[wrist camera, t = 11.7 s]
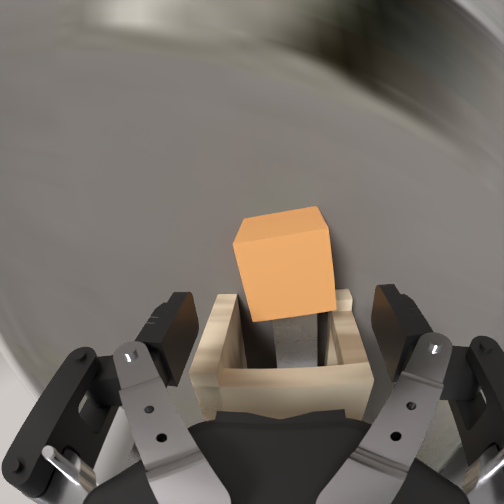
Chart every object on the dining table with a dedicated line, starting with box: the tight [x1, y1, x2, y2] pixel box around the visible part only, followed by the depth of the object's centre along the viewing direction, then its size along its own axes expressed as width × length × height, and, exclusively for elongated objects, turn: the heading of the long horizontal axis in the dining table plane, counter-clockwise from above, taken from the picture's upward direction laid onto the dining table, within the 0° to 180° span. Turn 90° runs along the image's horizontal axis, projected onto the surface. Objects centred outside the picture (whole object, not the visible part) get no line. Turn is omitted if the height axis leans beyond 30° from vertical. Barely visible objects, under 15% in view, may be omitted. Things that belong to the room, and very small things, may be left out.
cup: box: [93, 407, 135, 486], centre depth 26 cm, size 8×8×12 cm
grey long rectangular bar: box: [272, 313, 317, 369], centre depth 22 cm, size 12×3×4 cm, turn 8°
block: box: [233, 206, 337, 322], centre depth 18 cm, size 5×5×5 cm
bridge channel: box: [189, 289, 374, 421], centre depth 22 cm, size 23×10×8 cm, turn 5°
